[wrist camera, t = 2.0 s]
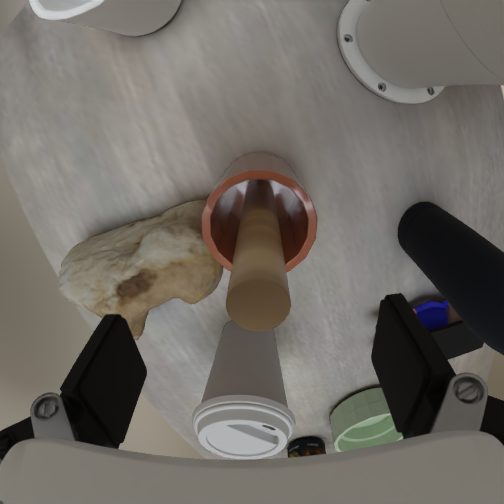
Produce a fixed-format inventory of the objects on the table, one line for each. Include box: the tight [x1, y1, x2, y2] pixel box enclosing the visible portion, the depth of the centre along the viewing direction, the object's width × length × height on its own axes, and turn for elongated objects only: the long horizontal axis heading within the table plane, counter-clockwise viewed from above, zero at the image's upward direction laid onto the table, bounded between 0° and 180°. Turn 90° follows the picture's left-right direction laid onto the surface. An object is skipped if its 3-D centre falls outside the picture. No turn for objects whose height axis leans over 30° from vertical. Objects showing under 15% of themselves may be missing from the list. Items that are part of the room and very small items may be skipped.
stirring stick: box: [226, 180, 291, 331], centre depth 20 cm, size 3×3×18 cm
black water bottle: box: [398, 202, 504, 355], centre depth 17 cm, size 6×6×30 cm
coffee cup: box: [192, 320, 295, 459], centre depth 30 cm, size 10×10×15 cm
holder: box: [201, 152, 317, 272], centre depth 25 cm, size 8×8×10 cm
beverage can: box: [288, 437, 326, 458], centre depth 43 cm, size 7×7×12 cm
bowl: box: [330, 388, 403, 452], centre depth 41 cm, size 13×13×6 cm
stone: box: [58, 200, 223, 340], centre depth 27 cm, size 17×12×10 cm
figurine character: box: [376, 301, 484, 360], centre depth 32 cm, size 7×8×15 cm
